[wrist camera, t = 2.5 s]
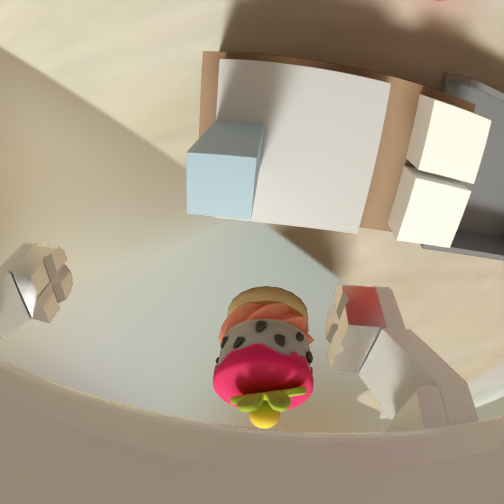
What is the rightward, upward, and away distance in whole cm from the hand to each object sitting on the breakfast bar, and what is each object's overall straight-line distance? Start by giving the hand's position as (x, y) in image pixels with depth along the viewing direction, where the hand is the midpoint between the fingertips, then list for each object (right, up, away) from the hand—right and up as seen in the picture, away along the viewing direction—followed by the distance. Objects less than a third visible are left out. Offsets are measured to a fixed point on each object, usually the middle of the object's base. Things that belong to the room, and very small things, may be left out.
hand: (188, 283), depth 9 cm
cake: (+4, -7, +31) cm, 32 cm away
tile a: (+16, +9, +11) cm, 21 cm away
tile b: (+15, +5, +14) cm, 21 cm away
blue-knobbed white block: (+5, +8, +13) cm, 16 cm away
